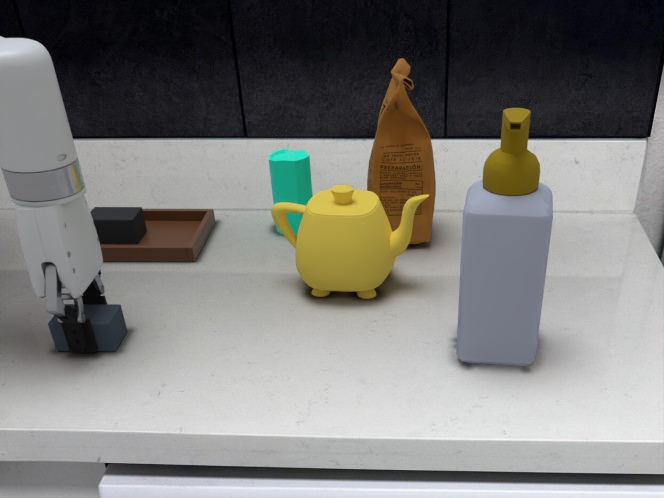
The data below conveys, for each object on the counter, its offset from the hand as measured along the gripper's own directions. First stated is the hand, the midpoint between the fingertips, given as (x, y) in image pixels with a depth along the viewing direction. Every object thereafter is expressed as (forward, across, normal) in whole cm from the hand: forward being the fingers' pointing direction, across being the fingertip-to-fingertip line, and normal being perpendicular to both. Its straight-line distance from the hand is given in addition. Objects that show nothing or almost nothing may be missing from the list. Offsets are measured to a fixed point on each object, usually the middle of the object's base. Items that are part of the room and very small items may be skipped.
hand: (91, 337), depth 94 cm
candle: (+1, -35, +20) cm, 40 cm away
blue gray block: (0, 0, 0) cm, 0 cm away
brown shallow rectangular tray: (0, -30, -2) cm, 30 cm away
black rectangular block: (0, -30, -5) cm, 30 cm away
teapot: (+1, -16, +30) cm, 34 cm away
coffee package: (+1, -33, +36) cm, 49 cm away
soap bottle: (+1, +1, +48) cm, 48 cm away
